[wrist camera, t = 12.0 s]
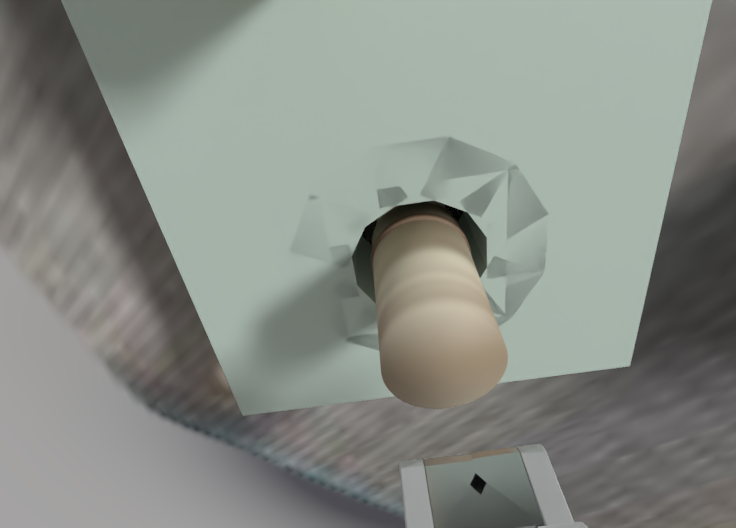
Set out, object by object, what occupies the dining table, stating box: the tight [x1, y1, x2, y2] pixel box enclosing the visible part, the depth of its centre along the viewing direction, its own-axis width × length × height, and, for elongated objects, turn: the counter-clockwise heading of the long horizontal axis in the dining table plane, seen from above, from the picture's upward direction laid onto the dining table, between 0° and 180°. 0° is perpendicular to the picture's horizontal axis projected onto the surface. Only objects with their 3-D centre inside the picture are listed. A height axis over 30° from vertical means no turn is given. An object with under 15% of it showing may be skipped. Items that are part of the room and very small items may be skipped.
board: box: [61, 0, 712, 416], centre depth 14 cm, size 22×16×9 cm
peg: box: [371, 200, 508, 409], centre depth 16 cm, size 3×3×9 cm
